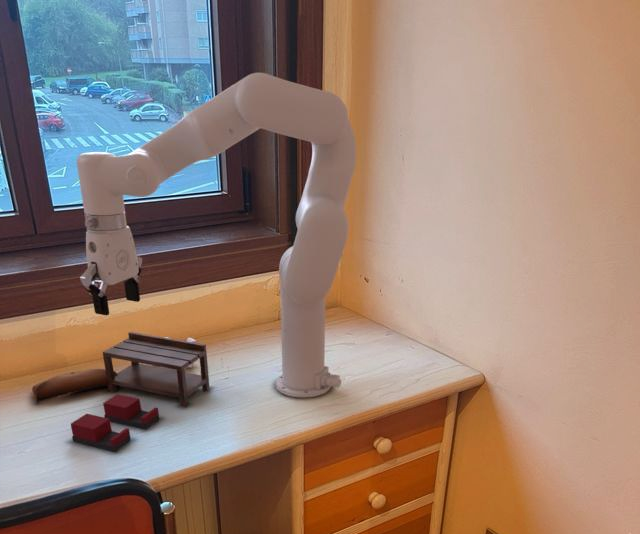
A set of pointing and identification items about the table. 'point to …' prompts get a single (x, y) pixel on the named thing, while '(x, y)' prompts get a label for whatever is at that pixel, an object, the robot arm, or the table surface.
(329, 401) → the table surface
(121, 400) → the right slipper
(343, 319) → the table surface
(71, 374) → the sunglasses case
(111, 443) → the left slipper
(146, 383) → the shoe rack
